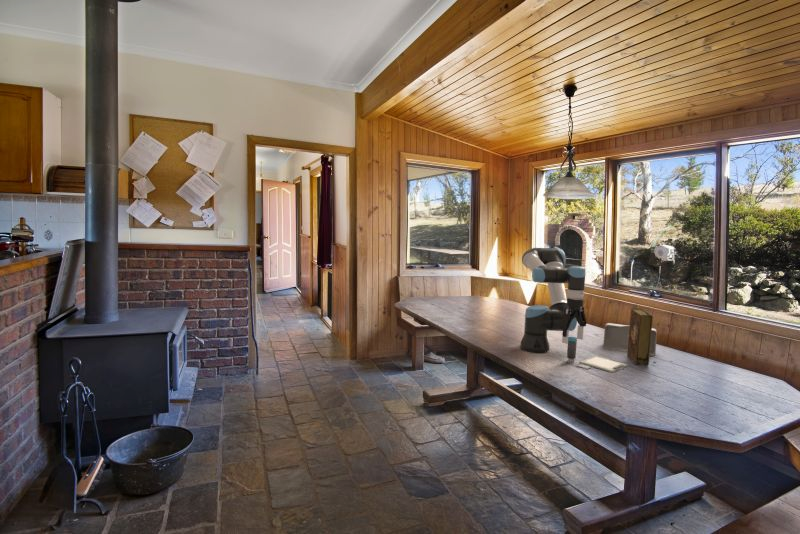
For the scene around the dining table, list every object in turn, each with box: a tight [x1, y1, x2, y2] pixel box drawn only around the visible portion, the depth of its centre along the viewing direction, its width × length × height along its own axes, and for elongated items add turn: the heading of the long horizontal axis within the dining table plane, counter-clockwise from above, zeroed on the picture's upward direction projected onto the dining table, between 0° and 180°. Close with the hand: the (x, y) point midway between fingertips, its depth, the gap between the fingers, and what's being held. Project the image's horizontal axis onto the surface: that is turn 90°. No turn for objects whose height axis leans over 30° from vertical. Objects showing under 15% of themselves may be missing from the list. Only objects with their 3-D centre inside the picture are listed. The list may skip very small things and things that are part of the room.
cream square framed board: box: [579, 355, 628, 373], centre depth 218 cm, size 16×15×1 cm
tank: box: [602, 322, 658, 356], centre depth 246 cm, size 25×16×12 cm, turn 62°
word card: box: [575, 363, 593, 370], centre depth 214 cm, size 6×4×1 cm, turn 39°
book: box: [626, 307, 654, 366], centre depth 224 cm, size 16×6×25 cm, turn 168°
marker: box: [566, 336, 578, 363], centre depth 221 cm, size 4×4×12 cm
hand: (572, 341), depth 220 cm, fingers open, 13 cm apart
